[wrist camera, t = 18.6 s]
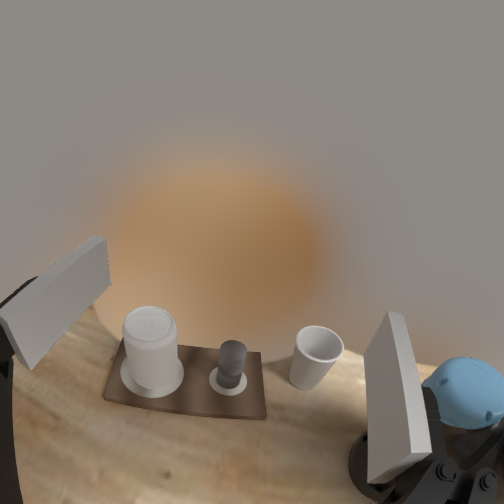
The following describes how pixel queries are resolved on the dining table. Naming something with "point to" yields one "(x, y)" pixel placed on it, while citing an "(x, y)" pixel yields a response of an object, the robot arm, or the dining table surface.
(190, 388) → the board
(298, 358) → the dixie cup
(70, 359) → the dining table surface
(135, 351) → the beverage can
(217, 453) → the dining table surface
